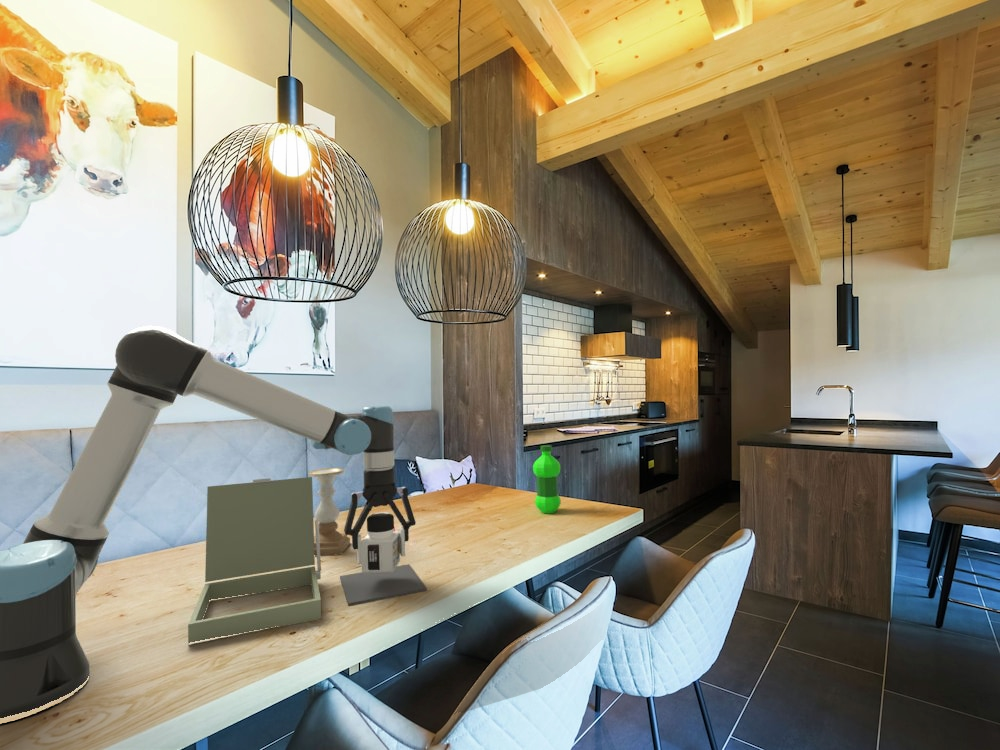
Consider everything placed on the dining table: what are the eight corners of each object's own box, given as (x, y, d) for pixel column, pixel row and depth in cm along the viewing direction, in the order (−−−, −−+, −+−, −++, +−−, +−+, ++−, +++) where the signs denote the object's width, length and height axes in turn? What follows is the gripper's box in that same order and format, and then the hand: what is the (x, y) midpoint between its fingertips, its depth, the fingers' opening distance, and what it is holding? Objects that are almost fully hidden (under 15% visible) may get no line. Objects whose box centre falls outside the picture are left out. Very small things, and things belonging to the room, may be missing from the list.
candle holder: (350, 543, 156) (349, 467, 156) (340, 554, 145) (339, 473, 145) (315, 544, 155) (314, 468, 156) (302, 556, 144) (301, 474, 145)
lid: (312, 474, 130) (311, 475, 132) (207, 483, 121) (208, 484, 122) (314, 564, 124) (314, 564, 126) (204, 582, 115) (205, 581, 116)
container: (393, 572, 118) (392, 518, 119) (361, 573, 118) (360, 518, 119) (400, 561, 126) (399, 510, 126) (370, 561, 126) (369, 510, 126)
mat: (426, 590, 117) (426, 588, 117) (348, 605, 110) (348, 603, 110) (409, 566, 134) (409, 564, 134) (340, 577, 127) (339, 576, 127)
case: (327, 617, 105) (325, 546, 105) (188, 645, 95) (187, 566, 95) (319, 576, 128) (318, 518, 128) (207, 595, 118) (206, 532, 118)
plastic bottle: (541, 516, 181) (539, 448, 182) (530, 510, 191) (528, 445, 192) (566, 513, 184) (564, 446, 185) (554, 507, 194) (552, 443, 195)
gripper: (419, 462, 131) (421, 546, 130) (330, 470, 122) (332, 561, 121) (427, 466, 124) (429, 555, 123) (333, 474, 115) (335, 571, 114)
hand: (381, 558), depth 122 cm, fingers closed on container, 10 cm apart
